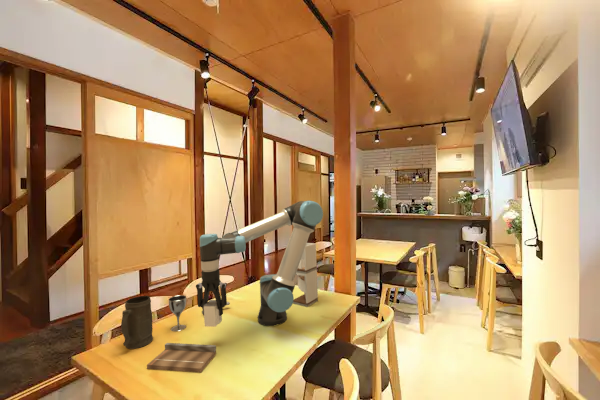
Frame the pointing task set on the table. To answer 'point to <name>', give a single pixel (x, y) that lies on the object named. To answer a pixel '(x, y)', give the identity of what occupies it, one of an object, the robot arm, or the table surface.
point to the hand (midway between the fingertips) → (213, 322)
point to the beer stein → (137, 322)
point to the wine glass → (177, 309)
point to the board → (183, 357)
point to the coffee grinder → (307, 277)
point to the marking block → (210, 313)
